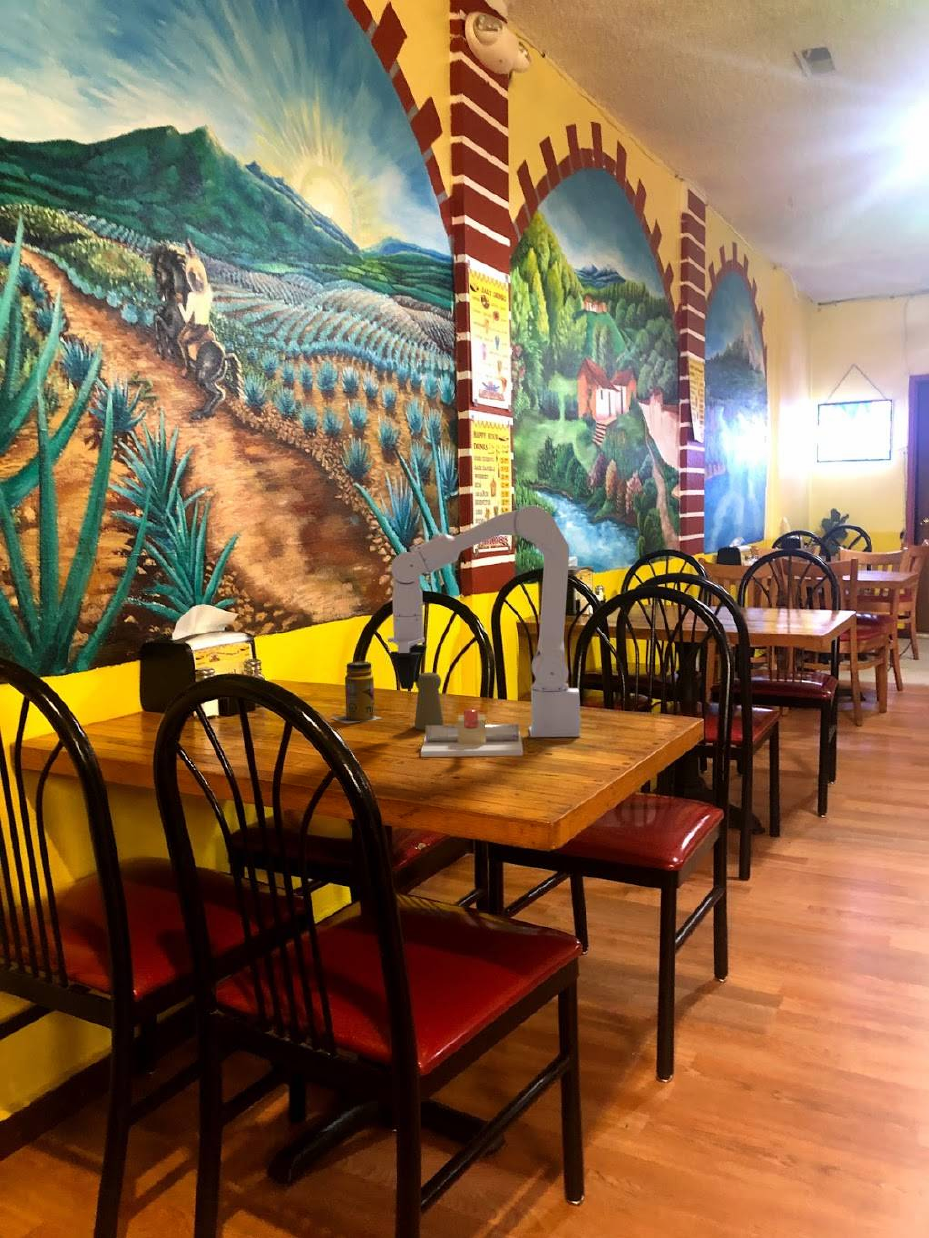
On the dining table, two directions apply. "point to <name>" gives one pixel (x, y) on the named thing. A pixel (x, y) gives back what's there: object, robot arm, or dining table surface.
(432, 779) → the dining table surface
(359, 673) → the condiment
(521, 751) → the valve board
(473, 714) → the valve lever
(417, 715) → the olive tapered post
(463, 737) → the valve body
